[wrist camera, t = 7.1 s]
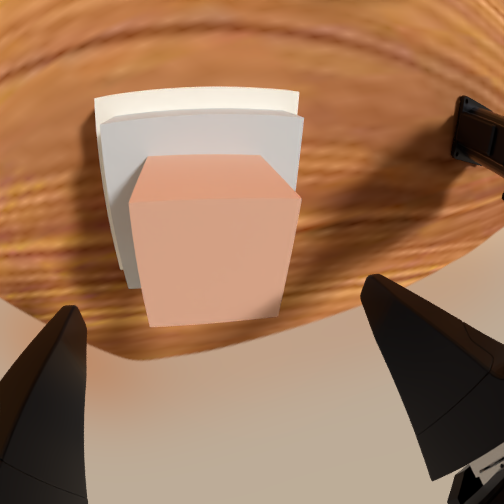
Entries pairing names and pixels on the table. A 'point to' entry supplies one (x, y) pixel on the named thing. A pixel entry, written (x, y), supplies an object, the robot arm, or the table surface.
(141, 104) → the tower base
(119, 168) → the tower top
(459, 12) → the table surface
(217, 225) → the cube
